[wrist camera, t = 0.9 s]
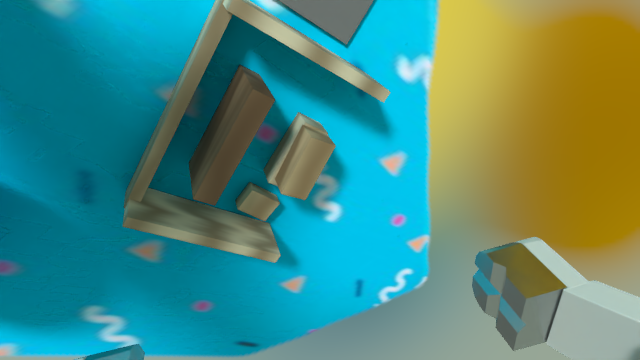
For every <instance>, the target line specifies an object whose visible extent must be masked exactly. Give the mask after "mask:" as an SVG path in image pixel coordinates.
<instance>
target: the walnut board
mask: <svg viewBox="0 0 640 360" xmlns="http://www.w3.org/2000/svg"><path fill="white" fill-rule="evenodd" d="M274 101H275V99H274V97H273V96H272V94H271V92H270V91H269V89H268V88H267V86H266V84H265V83H264V81H263V80H262V78H261V76H260V75H259V74H257V73H255V72H253V71H251V70H250V69H248V68H246V67H244V66H242V65H239V67H238V69H237V71H236V73H235V75H234V77H233V79H232V81H231V83H230V84H229V86H228V88H227V90H226V92H225V94H224V96H223V98H222V100H221V102H220V104H219V106H218V108H217V109H216V111H215V113H214V115H213V117H212V119H211V121H210V123H209V125H208V127H207V129H206V131H205V133H204V134H203V136H202V138H201V140H200V142H199V144H198V146H197V148H196V150H195V152H194V154H193V156H192V158H191V160H190V161H189V169H190V177H191V186H192V194H193V199H194V200H198V201H201V202H204V203H208V204H211V205H214V206H215V204H216V203H217V201H218V199H219V197H220V196H221V194H222V192H223V190H224V189H225V187H226V185H227V183H228V182H229V180H230V178H231V176H232V175H233V173H234V171H235V169H236V168H237V166H238V164H239V162H240V161H241V159H242V157H243V155H244V154H245V152H246V150H247V148H248V147H249V145H250V143H251V141H252V140H253V138H254V136H255V134H256V133H257V131H258V129H259V127H260V126H261V124H262V122H263V120H264V119H265V117H266V115H267V113H268V112H269V110H270V108H271V106H272V105H273V103H274Z"/></svg>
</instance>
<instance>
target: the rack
mask: <svg viewBox="0 0 640 360" xmlns="http://www.w3.org/2000/svg"><path fill="white" fill-rule="evenodd" d="M233 14H234V15H236V16H237V17H239V18H241V19H242V20H244V21H246V22H247V23H249V24H251V25H253V26H254V27H256V28H258V29H259V30H261V31H263V32H264V33H266V34H268V35H270V36H271V37H273V38H275V39H276V40H278V41H280V42H281V43H283V44H285V45H287V46H288V47H290V48H292V49H293V50H295V51H297V52H298V53H300V54H302V55H304V56H305V57H307V58H309V59H310V60H312V61H314V62H316V63H317V64H319V65H321V66H322V67H324V68H326V69H327V70H329V71H331V72H333V73H334V74H336V75H338V76H339V77H341V78H343V79H344V80H346V81H348V82H350V83H351V84H353V85H355V86H356V87H358V88H360V89H361V90H363V91H365V92H367V93H368V94H370V95H372V96H373V97H375V98H377V99H378V100H380V101H382V102H384V101H385V100H386V98H387V97H388V95H389V94H390V91H389V90H387V89H386V88H385V87H383V86H382V85H381V84H379V83H378V82H377V81H376V80H374V79H373V78H372V77H370V76H369V75H368V74H366V73H365V72H363V71H362V70H360V69H359V68H357V67H355V66H354V65H352V64H351V63H349V62H347V61H346V60H344V59H342V58H341V57H339V56H338V55H336V54H334V53H333V52H331V51H330V50H328V49H326V48H325V47H323V46H322V45H320V44H318V43H317V42H315V41H314V40H312V39H310V38H309V37H307V36H306V35H304V34H302V33H301V32H299V31H298V30H296V29H294V28H293V27H291V26H289V25H288V24H286V23H285V22H283V21H281V20H280V19H278V18H277V17H275V16H273V15H272V14H270V13H269V12H267V11H265V10H264V9H262V8H261V7H259V6H257V5H256V4H254V3H253V2H251V1H249V0H216V1H215V3H214V5H213V7H212V9H211V11H210V13H209V15H208V18H207V20H206V22H205V24H204V26H203V28H202V30H201V32H200V35H199V37H198V39H197V41H196V43H195V45H194V47H193V49H192V52H191V54H190V56H189V58H188V60H187V62H186V64H185V66H184V69H183V71H182V73H181V75H180V77H179V79H178V81H177V84H176V86H175V88H174V90H173V92H172V94H171V96H170V98H169V101H168V103H167V105H166V107H165V109H164V111H163V113H162V115H161V118H160V120H159V122H158V124H157V126H156V128H155V130H154V132H153V135H152V137H151V139H150V141H149V143H148V145H147V147H146V150H145V152H144V154H143V156H142V158H141V160H140V162H139V164H138V167H137V169H136V171H135V173H134V175H133V177H132V179H131V181H130V184H129V186H128V188H127V190H126V194H125V202H124V208H125V211H124V219H123V227H126V228H131V229H135V230H139V231H143V232H148V233H152V234H156V235H160V236H165V237H169V238H173V239H177V240H182V241H186V242H190V243H194V244H199V245H203V246H207V247H211V248H216V249H220V250H224V251H228V252H233V253H237V254H241V255H245V256H250V257H254V258H258V259H262V260H266V261H271V262H275V263H276V261H277V260H278V258H279V257H280V252H279V249H278V246H277V243H276V241H275V238H274V235H273V232H272V229H271V226H270V224H269V223H266V222H263V221H260V220H256V219H253V218H249V217H246V216H243V215H239V214H236V213H232V212H229V211H226V210H222V209H219V208H215V207H212V206H209V205H205V204H202V203H198V202H195V201H192V200H188V199H185V198H181V197H178V196H175V195H171V194H168V193H164V192H161V191H158V190H154V189H151V188H148V186H149V184H150V182H151V180H152V178H153V176H154V174H155V172H156V170H157V168H158V166H159V164H160V161H161V159H162V157H163V155H164V153H165V151H166V149H167V147H168V145H169V143H170V141H171V139H172V137H173V135H174V133H175V131H176V129H177V127H178V125H179V123H180V121H181V119H182V117H183V115H184V113H185V111H186V108H187V106H188V104H189V102H190V100H191V98H192V96H193V94H194V92H195V90H196V88H197V86H198V84H199V82H200V80H201V78H202V76H203V74H204V72H205V70H206V68H207V66H208V64H209V62H210V60H211V57H212V55H213V53H214V51H215V49H216V47H217V45H218V43H219V41H220V39H221V37H222V35H223V33H224V31H225V29H226V27H227V25H228V23H229V21H230V19H231V17H232V15H233Z"/></svg>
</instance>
